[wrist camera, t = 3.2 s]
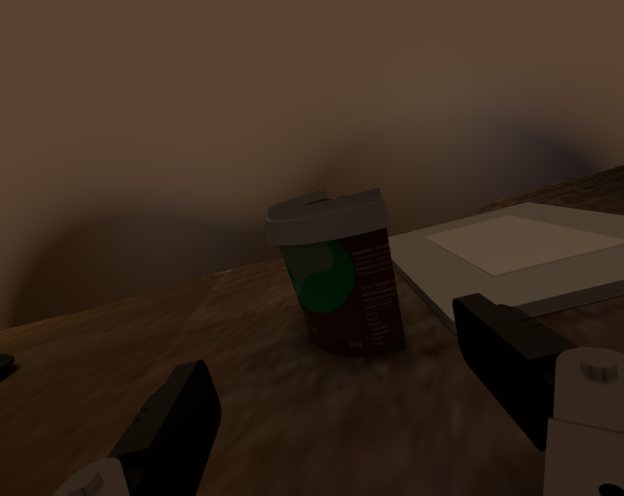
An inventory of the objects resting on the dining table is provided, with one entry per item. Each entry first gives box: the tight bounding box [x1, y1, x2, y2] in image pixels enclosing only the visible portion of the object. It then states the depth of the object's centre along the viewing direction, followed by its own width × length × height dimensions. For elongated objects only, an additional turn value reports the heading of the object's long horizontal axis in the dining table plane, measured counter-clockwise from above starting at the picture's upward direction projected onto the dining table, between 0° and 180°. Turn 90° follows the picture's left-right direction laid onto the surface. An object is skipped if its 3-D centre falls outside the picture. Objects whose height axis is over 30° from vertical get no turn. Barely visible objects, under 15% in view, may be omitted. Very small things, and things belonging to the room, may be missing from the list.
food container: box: [265, 188, 406, 357], centre depth 24 cm, size 12×6×10 cm, turn 12°
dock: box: [388, 202, 624, 336], centre depth 32 cm, size 20×24×1 cm
